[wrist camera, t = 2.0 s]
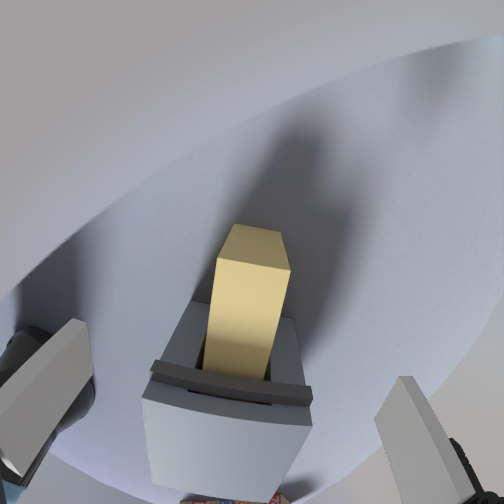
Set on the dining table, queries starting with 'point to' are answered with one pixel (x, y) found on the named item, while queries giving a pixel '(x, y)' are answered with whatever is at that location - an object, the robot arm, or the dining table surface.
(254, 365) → the upright yellow slab
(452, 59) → the dining table surface
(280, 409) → the dispenser
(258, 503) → the stack of blocks
